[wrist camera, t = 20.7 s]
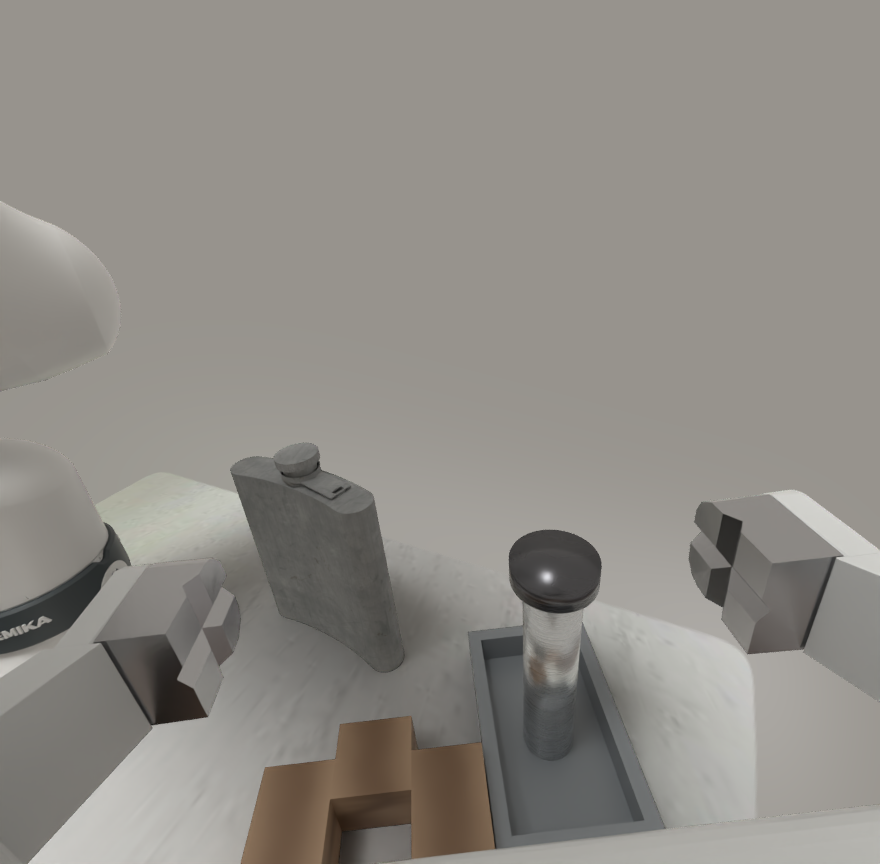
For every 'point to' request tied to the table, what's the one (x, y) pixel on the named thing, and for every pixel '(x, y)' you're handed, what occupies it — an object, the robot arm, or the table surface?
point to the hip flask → (322, 551)
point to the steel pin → (552, 631)
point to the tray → (561, 781)
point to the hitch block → (372, 797)
